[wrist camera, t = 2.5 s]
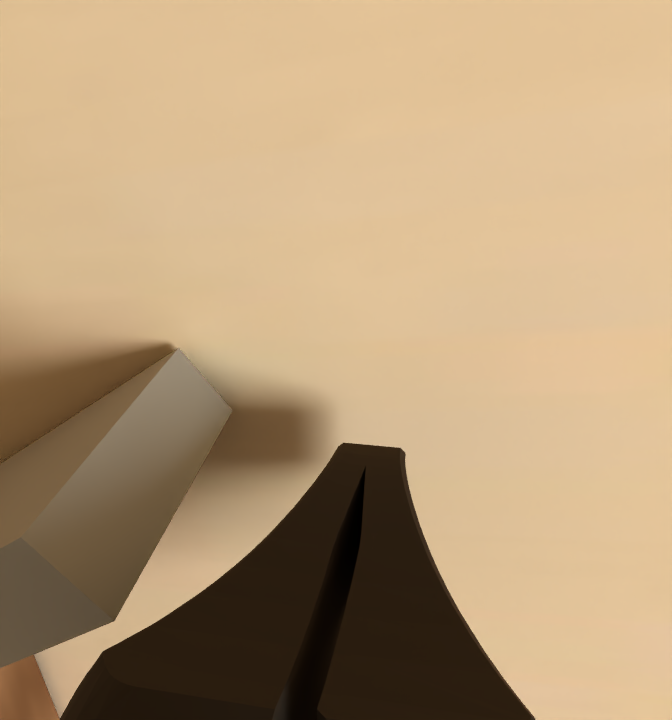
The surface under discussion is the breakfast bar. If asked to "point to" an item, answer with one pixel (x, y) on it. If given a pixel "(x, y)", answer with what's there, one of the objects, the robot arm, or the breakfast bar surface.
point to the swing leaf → (98, 503)
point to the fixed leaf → (24, 692)
